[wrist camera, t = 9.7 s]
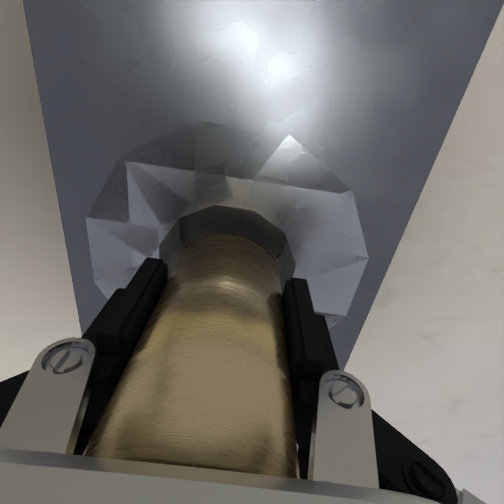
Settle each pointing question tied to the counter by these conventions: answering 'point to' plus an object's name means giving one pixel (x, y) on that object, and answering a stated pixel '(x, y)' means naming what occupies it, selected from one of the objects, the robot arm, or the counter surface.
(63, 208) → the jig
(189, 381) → the cylinder
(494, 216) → the counter surface
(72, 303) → the counter surface
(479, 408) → the counter surface
